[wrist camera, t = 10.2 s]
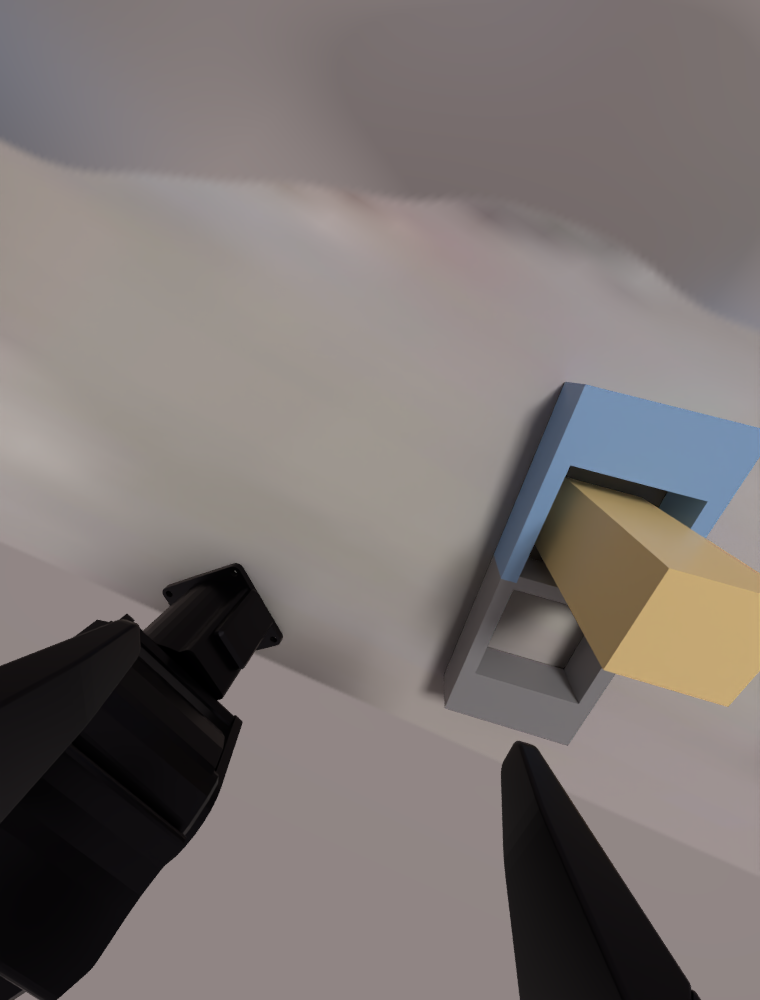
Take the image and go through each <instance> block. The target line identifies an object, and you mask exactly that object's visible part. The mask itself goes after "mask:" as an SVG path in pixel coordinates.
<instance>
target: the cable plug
mask: <svg viewBox="0 0 760 1000" xmlns="http://www.w3.org/2000/svg"><path fill="white" fill-rule="evenodd" d="M535 546H536V548H537V550H538V551H539V553H540V555H541V557H542V559H543V561H544V562H545V564H546V566H547V568H548V570H549V572H550V573H551V575H552V577H553V579H554V581H555V583H556V584H557V586H558V588H559V590H560V592H561V594H562V595H563V597H564V599H565V601H566V603H567V605H568V606H569V608H570V610H571V612H572V614H573V615H574V617H575V619H576V621H577V623H578V625H579V626H580V628H581V630H582V632H583V634H584V636H585V637H586V639H587V641H588V643H589V645H590V647H591V648H592V650H593V652H594V654H595V656H596V658H597V659H598V661H599V663H600V665H601V667H602V669H603V670H605V671H608V672H612V673H615V674H619V675H622V676H625V677H629V678H632V679H636V680H639V681H642V682H646V683H649V684H652V685H656V686H659V687H663V688H666V689H669V690H673V691H676V692H679V693H683V694H686V695H690V696H693V697H696V698H700V699H703V700H706V701H710V702H713V703H717V704H720V705H723V706H727V707H728V706H729V705H730V704H731V703H732V702H733V701H734V699H735V698H736V697H737V696H738V695H739V694H740V693H741V691H742V690H743V689H744V688H745V687H746V686H747V685H748V683H749V682H750V681H751V680H752V679H753V678H754V677H755V676H756V674H757V673H758V672H759V671H760V573H758V572H757V571H755V570H754V569H752V568H751V567H749V566H747V565H746V564H744V563H743V562H741V561H740V560H738V559H737V558H735V557H733V556H732V555H730V554H729V553H727V552H726V551H724V550H723V549H721V548H719V547H718V546H716V545H715V544H713V543H712V542H710V541H709V540H707V539H705V538H704V537H702V536H701V535H699V534H698V533H696V532H695V531H693V530H691V529H690V528H688V527H687V526H685V525H684V524H682V523H681V522H679V521H678V520H676V519H674V518H673V517H671V516H670V515H668V514H667V513H665V512H664V511H662V510H660V509H659V508H657V507H656V506H654V505H653V504H651V503H650V502H648V501H646V500H645V499H643V498H642V497H638V496H635V495H631V494H627V493H624V492H620V491H616V490H612V489H609V488H605V487H601V486H598V485H594V484H590V483H586V482H583V481H579V480H575V479H572V478H568V477H565V478H564V480H563V482H562V485H561V487H560V489H559V491H558V493H557V496H556V498H555V500H554V502H553V504H552V506H551V509H550V511H549V513H548V515H547V517H546V520H545V522H544V524H543V526H542V528H541V531H540V533H539V535H538V537H537V539H536V541H535Z"/></svg>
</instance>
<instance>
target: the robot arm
mask: <svg viewBox="0 0 760 1000" xmlns="http://www.w3.org/2000/svg"><path fill="white" fill-rule="evenodd" d="M234 570H236V571H237V573H235V572H234ZM171 592H172V593H171ZM163 595H164V597H165V598H166V600H167V601H168V603H169V604H170V607H169V608H168V609H167V610H165V611H164V612H163V613H162V614H161V615H160V616H159V617H158V618H157V619H156V620H154V622H152V623H151V624H150V625H149V626H148V627H147V628H146V629H144V631H142V630H141V629H140V627H139V625H138V624H137V623H134V620H133V618H131V617H130V616H129V615H128V614H126V615H125V616H123V617H122V618H121V619H120V620H117V621H114V622H112V621H110V622H106V621H101V620H96V621H95V622H93V623H92V624H91V625H90V626H88V627H87V628H86V629H84V630H83V631H82V632H80V633H79V634H77V635H76V636H75V637H73V638H71V639H68V640H65V641H63V642H60V643H58V644H55V645H53V646H50V647H47V648H45V649H42V650H40V651H37V652H35V653H32V654H29V655H27V656H24V657H22V658H19V659H17V660H14V661H12V662H9V663H7V664H4V665H1V666H0V1000H14V999H16V998H17V997H19V996H20V995H22V994H23V993H25V992H27V993H29V994H30V995H32V996H34V997H35V998H37V999H39V1000H57V999H58V998H59V997H61V996H62V995H63V994H64V993H65V992H66V991H67V990H68V989H70V988H71V987H72V986H73V985H74V984H75V983H76V982H78V981H79V980H80V979H81V978H82V977H83V976H84V975H86V974H87V973H88V972H89V971H90V970H91V969H92V968H93V966H94V965H95V963H96V962H97V961H98V959H99V958H100V956H101V955H102V953H103V952H104V950H105V949H106V947H107V946H108V944H109V943H110V941H111V940H112V938H113V936H114V935H115V934H116V932H117V930H118V929H119V927H120V926H121V924H122V923H123V921H124V919H125V918H126V917H127V915H128V914H129V912H130V911H131V909H132V908H133V907H134V905H135V904H136V902H137V901H138V899H139V898H140V896H141V895H142V894H143V893H144V891H145V890H146V889H147V887H148V886H149V885H150V883H151V882H152V881H153V879H154V878H155V877H156V876H157V874H158V873H159V872H160V870H161V869H162V868H163V867H164V866H165V865H166V864H167V863H169V862H170V861H171V860H172V859H173V858H174V857H176V856H177V855H178V854H179V853H180V852H181V851H182V849H183V848H184V847H185V846H186V845H187V843H188V842H189V841H190V840H191V839H192V838H193V836H194V835H195V834H196V832H197V831H198V829H199V828H200V827H201V825H202V824H203V822H204V821H205V819H206V817H207V816H208V814H209V813H210V811H211V809H212V807H213V805H214V803H215V801H216V799H217V797H218V794H219V792H220V789H221V786H222V783H223V780H224V777H225V774H226V771H227V768H228V765H229V762H230V759H231V756H232V753H233V750H234V747H235V744H236V741H237V738H238V734H239V732H240V729H241V726H242V721H241V720H240V719H239V718H238V717H237V716H236V715H235V716H233V715H232V714H231V713H230V712H229V711H228V710H227V709H226V708H225V707H224V706H222V705H221V704H220V703H219V702H218V701H217V700H220V699H222V698H223V697H224V695H225V694H226V692H227V691H228V689H229V687H230V686H231V684H232V683H233V681H234V680H235V678H236V677H237V675H238V673H239V672H240V670H241V669H243V668H244V667H245V666H246V664H247V663H248V661H249V660H250V658H251V657H252V655H253V653H254V652H255V650H260V649H264V648H268V647H272V646H276V645H278V644H279V643H280V642H281V640H282V638H283V635H282V633H281V631H280V630H279V628H278V626H277V625H276V623H275V621H274V619H273V618H272V616H271V614H270V613H269V611H268V609H267V607H266V606H265V604H264V602H263V601H262V599H261V597H260V595H259V594H258V592H257V590H256V589H255V587H254V585H253V583H252V582H251V580H250V578H249V577H248V575H247V573H246V572H245V570H244V568H243V567H242V566H241V565H240V564H237V563H234V564H230V565H227V566H224V567H221V568H218V569H215V570H212V571H209V572H206V573H203V574H200V575H197V576H194V577H191V578H188V579H185V580H182V581H179V582H176V583H173V584H170V585H168V586H167V587H166V588H164V589H163ZM274 637H275V638H274ZM501 793H502V822H503V823H502V826H503V852H504V867H505V877H506V885H507V894H508V902H509V911H510V919H511V927H512V935H513V944H514V953H515V962H516V969H517V979H518V987H519V996H520V1000H701V999H700V998H699V996H698V994H697V993H696V992H695V991H694V990H691V985H690V983H689V981H688V979H687V978H686V976H685V975H684V973H683V972H682V970H681V969H680V967H679V966H678V964H677V963H676V961H675V959H674V958H673V956H672V955H671V953H670V952H669V951H668V949H667V947H666V946H665V944H664V943H663V941H662V940H661V938H660V936H659V935H658V933H657V932H656V930H655V929H654V927H653V926H652V924H651V922H650V921H649V919H648V918H647V916H646V915H645V913H644V912H643V910H642V909H641V907H640V905H639V904H638V903H637V901H636V899H635V898H634V896H633V895H632V893H631V892H630V890H629V889H628V887H627V885H626V884H625V882H624V881H623V879H622V878H621V876H620V875H619V873H618V872H617V870H616V869H615V867H614V866H613V864H612V863H611V861H610V859H609V858H608V856H607V855H606V853H605V852H604V850H603V849H602V847H601V845H600V844H599V842H598V841H597V839H596V838H595V836H594V835H593V833H592V832H591V830H590V829H589V827H588V825H587V824H586V822H585V821H584V819H583V818H582V816H581V815H580V813H579V812H578V810H577V809H576V807H575V805H574V804H573V802H572V801H571V800H570V798H569V796H568V795H567V793H566V792H565V790H564V789H563V787H562V785H561V784H560V782H559V781H558V779H557V778H556V776H555V775H554V773H553V772H552V770H551V769H550V767H549V765H548V764H547V762H546V761H545V759H544V758H543V756H542V755H541V753H540V752H539V750H538V749H537V748H536V747H535V746H534V745H532V744H528V743H525V742H522V741H516V742H515V743H514V744H513V746H512V747H511V749H510V751H509V753H508V754H507V756H506V758H505V760H504V761H503V764H502V768H501Z"/></svg>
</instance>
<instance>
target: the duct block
mask: <svg viewBox="0 0 760 1000" xmlns="http://www.w3.org/2000/svg"><path fill="white" fill-rule="evenodd" d="M759 457H760V428H757V427H753V426H749V425H745V424H741V423H737V422H733V421H729V420H725V419H721V418H717V417H713V416H709V415H705V414H701V413H697V412H693V411H689V410H685V409H681V408H677V407H673V406H669V405H665V404H661V403H657V402H653V401H649V400H645V399H641V398H637V397H633V396H629V395H625V394H621V393H617V392H613V391H609V390H605V389H601V388H597V387H593V386H589V385H585V384H578V383H570V382H565V383H564V386H563V388H562V390H561V393H560V395H559V398H558V400H557V403H556V405H555V407H554V410H553V412H552V415H551V417H550V420H549V422H548V424H547V427H546V429H545V432H544V434H543V436H542V439H541V441H540V444H539V446H538V449H537V451H536V453H535V456H534V458H533V461H532V463H531V466H530V468H529V470H528V473H527V475H526V478H525V480H524V483H523V485H522V487H521V490H520V492H519V495H518V497H517V499H516V502H515V504H514V507H513V509H512V512H511V514H510V516H509V519H508V521H507V524H506V526H505V529H504V531H503V533H502V536H501V538H500V541H499V543H498V546H497V548H496V550H495V553H494V555H493V558H492V560H491V562H490V565H489V567H488V570H487V572H486V575H485V577H484V579H483V582H482V584H481V587H480V589H479V592H478V594H477V596H476V599H475V601H474V604H473V606H472V608H471V611H470V613H469V616H468V618H467V621H466V623H465V625H464V628H463V630H462V633H461V635H460V638H459V640H458V642H457V645H456V647H455V650H454V652H453V655H452V657H451V659H450V662H449V664H448V667H447V669H446V671H445V674H444V701H445V708H446V709H449V710H452V711H455V712H459V713H462V714H465V715H469V716H472V717H475V718H478V719H482V720H485V721H488V722H491V723H495V724H498V725H501V726H505V727H508V728H511V729H514V730H518V731H521V732H524V733H528V734H531V735H534V736H537V737H541V738H544V739H547V740H550V741H554V742H557V743H560V744H564V745H567V746H568V745H569V743H570V742H571V740H572V739H573V737H574V736H575V734H576V733H577V731H578V730H579V728H580V727H581V725H582V724H583V722H584V721H585V719H586V718H587V716H588V715H589V713H590V712H591V710H592V709H593V707H594V706H595V704H596V703H597V701H598V700H599V698H600V697H601V695H602V693H603V692H604V690H605V689H606V687H607V686H608V684H609V683H610V681H611V680H612V678H613V677H614V675H615V673H612V672H608V671H605V670H603V669H602V667H601V665H600V663H599V661H598V659H597V658H596V656H595V654H594V652H593V650H592V648H591V647H590V645H589V643H588V641H587V639H586V637H585V636H583V638H582V639H581V641H580V643H579V645H578V646H577V648H576V650H575V651H574V653H573V655H572V657H571V658H570V660H569V662H568V663H567V665H566V667H565V669H561V668H557V667H554V666H551V665H547V664H544V663H540V662H537V661H534V660H530V659H527V658H523V657H520V656H517V655H513V654H510V653H506V652H503V651H500V650H496V649H493V648H489V647H487V646H488V644H489V642H490V640H491V638H492V635H493V633H494V631H495V629H496V627H497V625H498V622H499V620H500V618H501V616H502V614H503V611H504V609H505V607H506V605H507V603H508V600H509V598H510V596H511V594H512V592H513V590H517V591H521V592H524V593H528V594H531V595H535V596H538V597H542V598H545V599H549V600H552V601H556V602H559V603H563V604H566V605H567V603H566V601H565V599H564V597H563V595H562V594H561V592H560V590H559V588H558V586H557V584H556V583H555V581H554V579H553V577H552V575H551V573H550V572H549V570H548V568H547V566H546V564H545V562H542V561H538V560H535V559H531V558H528V557H529V555H530V552H531V550H532V548H533V546H534V544H535V541H536V539H537V537H538V535H539V533H540V531H541V528H542V526H543V524H544V522H545V520H546V517H547V515H548V513H549V511H550V509H551V506H552V504H553V502H554V500H555V498H556V496H557V493H558V491H559V489H560V487H561V485H562V482H563V480H564V478H565V476H566V474H567V472H568V469H569V467H570V465H571V466H575V467H578V468H582V469H586V470H590V471H594V472H597V473H601V474H605V475H609V476H613V477H616V478H620V479H624V480H628V481H632V482H635V483H639V484H643V485H647V486H651V487H654V488H658V489H662V490H666V491H668V492H667V494H666V496H665V497H664V499H663V501H662V503H661V504H660V506H659V509H660V510H662V511H664V512H665V513H667V514H668V515H670V516H671V517H673V518H674V519H676V520H678V521H679V522H681V523H682V524H684V525H685V526H687V527H688V528H690V529H691V530H693V531H695V532H696V533H698V534H699V535H701V536H702V537H704V538H706V537H707V535H708V534H709V532H710V531H711V529H712V528H713V526H714V525H715V523H716V522H717V520H718V519H719V517H720V516H721V514H722V513H723V511H724V510H725V508H726V507H727V505H728V504H729V502H730V501H731V499H732V498H733V496H734V495H735V493H736V492H737V490H738V489H739V487H740V486H741V484H742V483H743V481H744V480H745V478H746V477H747V475H748V474H749V472H750V471H751V469H752V468H753V466H754V465H755V463H756V462H757V460H758V459H759Z"/></svg>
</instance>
